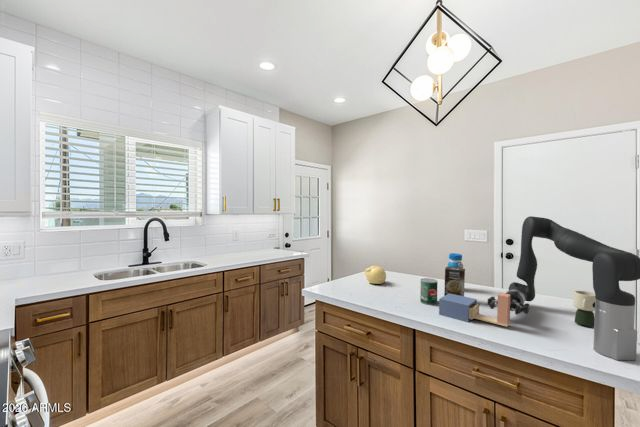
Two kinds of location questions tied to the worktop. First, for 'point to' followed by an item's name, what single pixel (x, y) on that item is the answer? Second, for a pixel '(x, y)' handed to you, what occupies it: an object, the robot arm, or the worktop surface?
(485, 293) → the worktop surface
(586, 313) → the character mug
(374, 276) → the yellow apple
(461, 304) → the sleeve
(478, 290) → the worktop surface
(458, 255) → the beverage bottle
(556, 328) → the worktop surface
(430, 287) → the canned tomato
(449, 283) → the coffee box
